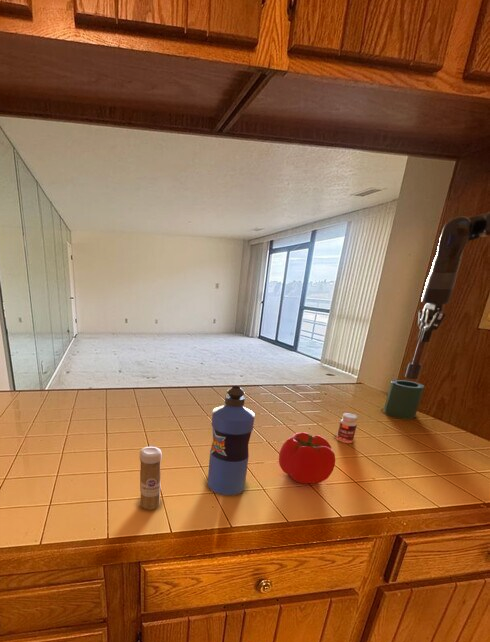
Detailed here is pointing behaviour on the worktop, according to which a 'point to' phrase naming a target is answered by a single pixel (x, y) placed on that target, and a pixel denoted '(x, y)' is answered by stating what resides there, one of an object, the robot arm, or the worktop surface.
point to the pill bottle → (347, 428)
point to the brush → (416, 360)
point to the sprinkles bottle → (150, 477)
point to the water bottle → (230, 444)
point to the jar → (403, 399)
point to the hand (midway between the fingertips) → (422, 340)
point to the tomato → (307, 458)
